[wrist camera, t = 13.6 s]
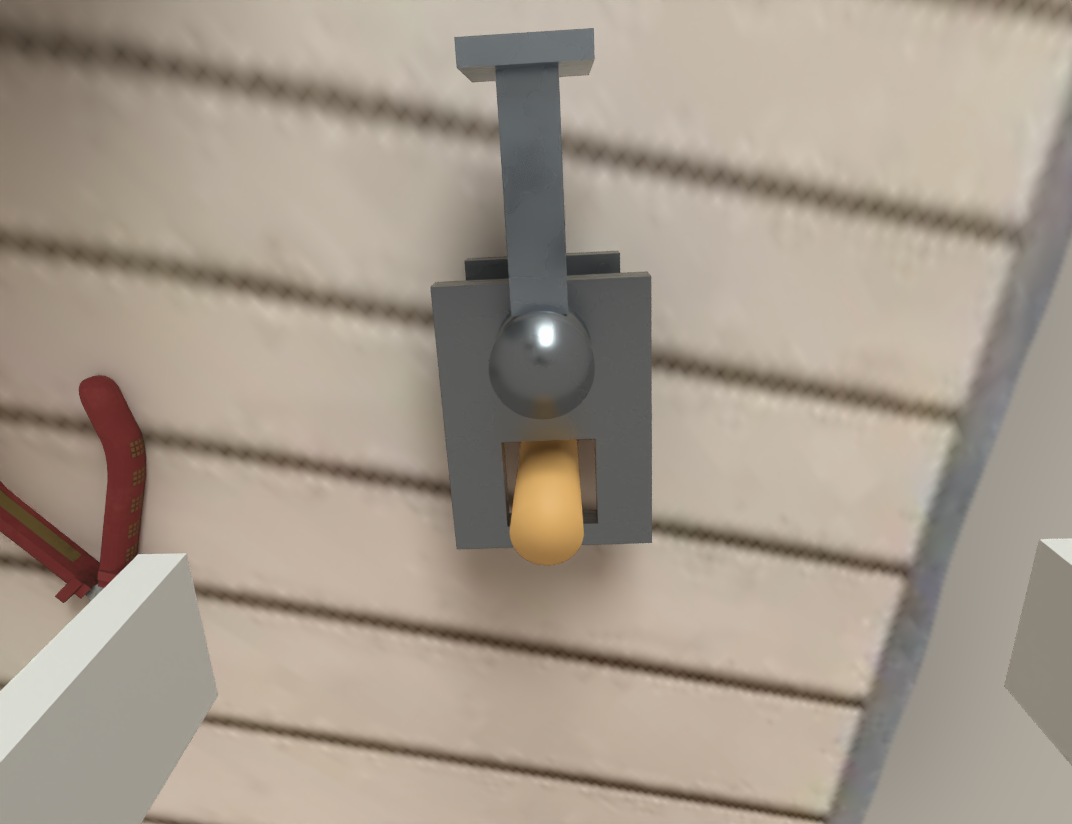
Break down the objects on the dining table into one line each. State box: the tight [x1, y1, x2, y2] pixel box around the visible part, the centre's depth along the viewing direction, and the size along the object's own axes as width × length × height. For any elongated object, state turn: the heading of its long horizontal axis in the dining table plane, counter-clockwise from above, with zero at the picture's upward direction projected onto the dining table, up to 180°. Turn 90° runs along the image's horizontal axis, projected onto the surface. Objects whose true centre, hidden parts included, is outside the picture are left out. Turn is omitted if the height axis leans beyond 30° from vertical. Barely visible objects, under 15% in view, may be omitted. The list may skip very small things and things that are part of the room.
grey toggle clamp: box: [430, 28, 652, 549], centre depth 34 cm, size 10×23×10 cm, turn 3°
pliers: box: [0, 375, 146, 603], centre depth 44 cm, size 12×20×3 cm, turn 14°
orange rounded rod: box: [510, 439, 584, 565], centre depth 37 cm, size 3×3×11 cm
